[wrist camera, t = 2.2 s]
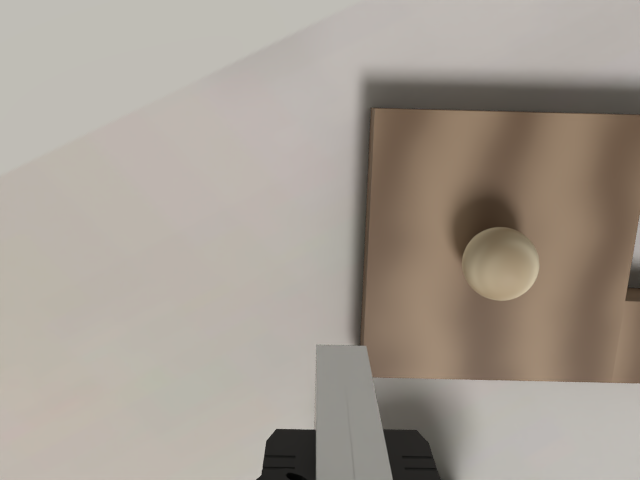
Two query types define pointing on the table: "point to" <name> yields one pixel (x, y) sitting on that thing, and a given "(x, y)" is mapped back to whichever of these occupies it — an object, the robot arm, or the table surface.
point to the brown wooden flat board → (511, 212)
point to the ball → (500, 263)
